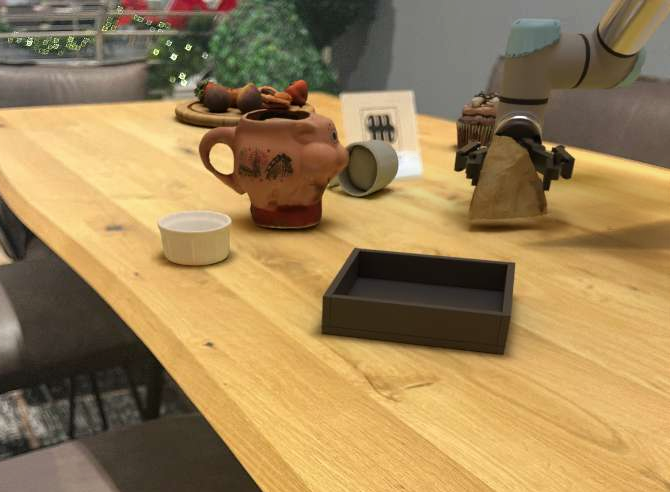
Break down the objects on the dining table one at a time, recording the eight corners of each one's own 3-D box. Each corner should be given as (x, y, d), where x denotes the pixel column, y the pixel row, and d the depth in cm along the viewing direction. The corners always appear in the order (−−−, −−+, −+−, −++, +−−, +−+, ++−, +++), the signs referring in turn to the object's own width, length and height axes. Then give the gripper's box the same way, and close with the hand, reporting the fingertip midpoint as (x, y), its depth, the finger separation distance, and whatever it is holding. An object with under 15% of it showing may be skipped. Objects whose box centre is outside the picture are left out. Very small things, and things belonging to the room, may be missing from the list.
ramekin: (210, 272, 89) (208, 234, 87) (146, 261, 92) (142, 224, 90) (245, 251, 96) (244, 215, 93) (184, 241, 99) (182, 206, 96)
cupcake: (497, 144, 153) (505, 88, 148) (507, 154, 146) (516, 95, 140) (449, 143, 154) (456, 87, 148) (457, 153, 146) (464, 94, 140)
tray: (509, 296, 84) (515, 262, 82) (503, 354, 71) (511, 315, 69) (352, 281, 87) (354, 247, 85) (321, 333, 75) (322, 296, 73)
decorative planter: (198, 234, 101) (191, 119, 93) (205, 210, 111) (200, 103, 103) (348, 235, 101) (354, 120, 93) (342, 210, 111) (347, 104, 103)
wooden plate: (309, 106, 189) (310, 68, 185) (320, 130, 163) (322, 87, 159) (179, 106, 188) (177, 68, 183) (170, 130, 162) (167, 86, 157)
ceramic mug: (400, 189, 122) (403, 136, 118) (377, 200, 116) (380, 145, 112) (342, 181, 127) (343, 130, 122) (317, 191, 121) (318, 138, 117)
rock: (557, 192, 106) (489, 174, 109) (569, 146, 98) (495, 128, 101) (530, 255, 104) (461, 235, 106) (540, 213, 96) (464, 193, 98)
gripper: (583, 175, 115) (591, 214, 97) (442, 166, 120) (425, 201, 102) (595, 120, 111) (605, 150, 93) (448, 113, 115) (431, 140, 97)
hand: (511, 177), depth 97 cm, fingers closed on rock, 8 cm apart
